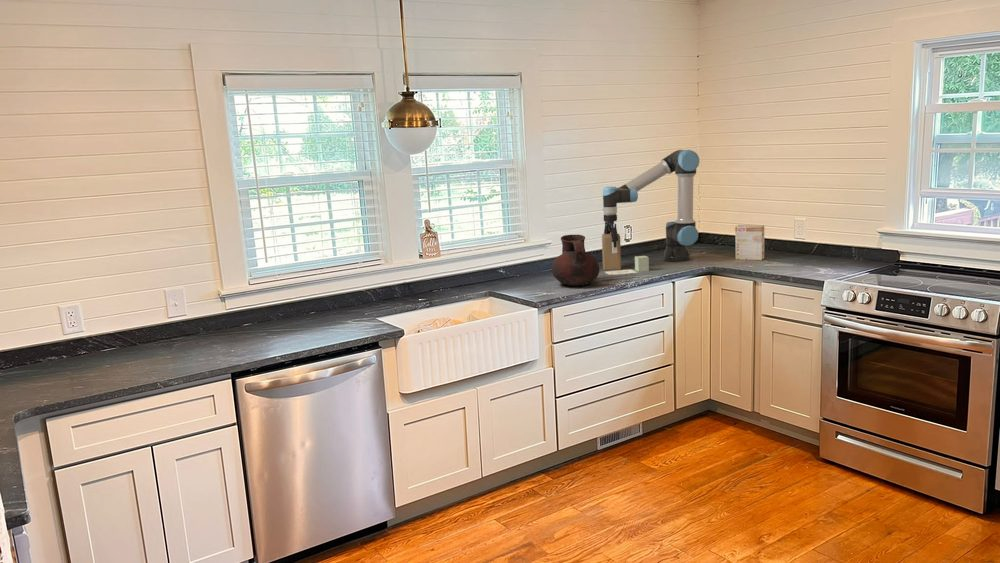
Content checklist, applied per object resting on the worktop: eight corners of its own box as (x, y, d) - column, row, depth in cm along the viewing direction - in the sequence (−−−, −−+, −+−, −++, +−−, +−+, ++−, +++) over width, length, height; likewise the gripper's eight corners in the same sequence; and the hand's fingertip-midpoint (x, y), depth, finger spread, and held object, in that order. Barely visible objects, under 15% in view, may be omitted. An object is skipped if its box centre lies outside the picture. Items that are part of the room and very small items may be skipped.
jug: (552, 290, 375) (550, 241, 371) (551, 281, 400) (549, 235, 395) (602, 287, 374) (600, 238, 369) (598, 278, 399) (596, 232, 394)
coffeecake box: (764, 258, 429) (764, 224, 425) (761, 260, 423) (762, 226, 419) (738, 257, 436) (738, 224, 433) (735, 259, 430) (735, 226, 427)
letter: (631, 269, 418) (631, 269, 418) (637, 273, 407) (637, 272, 407) (604, 272, 416) (603, 271, 416) (609, 275, 405) (609, 275, 405)
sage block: (645, 269, 417) (644, 255, 415) (649, 271, 411) (648, 257, 409) (635, 270, 416) (634, 256, 414) (638, 272, 410) (638, 258, 408)
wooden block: (620, 267, 429) (619, 233, 425) (621, 270, 419) (620, 235, 415) (602, 268, 430) (601, 233, 426) (603, 271, 420) (602, 236, 416)
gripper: (597, 212, 430) (598, 248, 434) (610, 216, 406) (611, 254, 410) (610, 211, 431) (611, 248, 435) (623, 215, 407) (624, 253, 411)
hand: (611, 251), depth 422 cm, fingers open, 13 cm apart
